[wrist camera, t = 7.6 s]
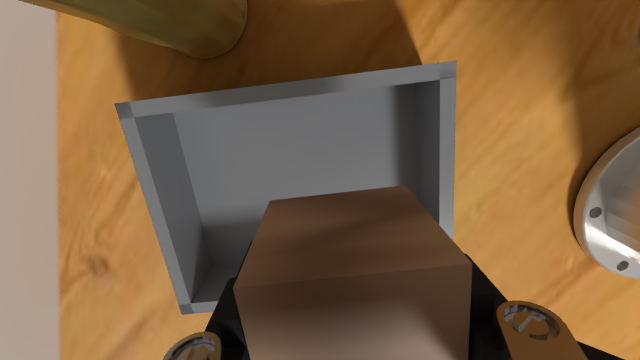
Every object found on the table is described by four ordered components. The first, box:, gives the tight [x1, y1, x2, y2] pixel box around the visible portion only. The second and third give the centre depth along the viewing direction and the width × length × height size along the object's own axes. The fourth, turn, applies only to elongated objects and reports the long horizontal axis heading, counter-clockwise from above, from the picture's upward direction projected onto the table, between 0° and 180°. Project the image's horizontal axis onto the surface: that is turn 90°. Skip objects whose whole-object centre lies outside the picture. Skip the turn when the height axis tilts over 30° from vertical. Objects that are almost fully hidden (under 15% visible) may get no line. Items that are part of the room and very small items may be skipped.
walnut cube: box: [233, 185, 472, 360], centre depth 9 cm, size 5×5×5 cm
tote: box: [115, 61, 456, 314], centre depth 20 cm, size 18×14×5 cm
